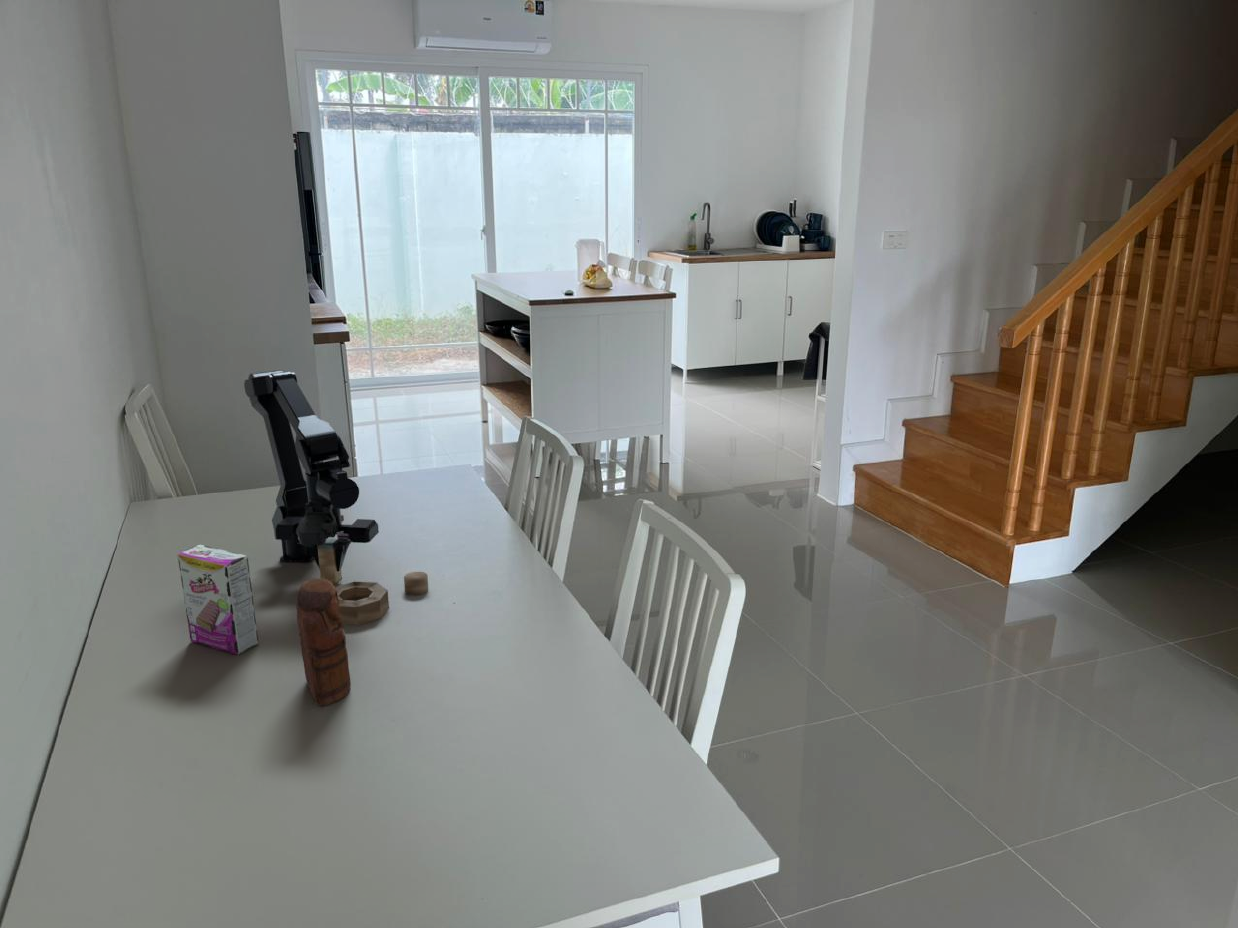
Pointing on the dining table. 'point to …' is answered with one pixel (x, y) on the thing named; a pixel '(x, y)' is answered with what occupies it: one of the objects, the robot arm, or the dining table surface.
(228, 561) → the candy bar box
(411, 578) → the loose bead
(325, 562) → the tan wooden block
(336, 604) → the wooden figurine
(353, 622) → the wooden octagonal ring
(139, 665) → the dining table surface
